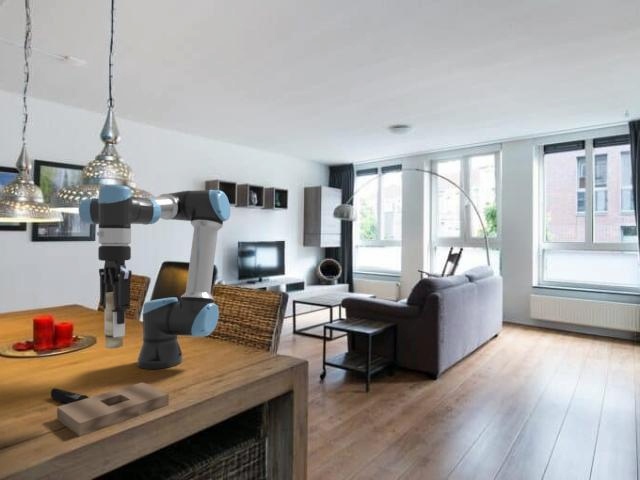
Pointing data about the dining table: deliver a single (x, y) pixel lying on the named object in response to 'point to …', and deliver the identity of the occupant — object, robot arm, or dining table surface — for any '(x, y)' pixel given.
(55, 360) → the dining table surface
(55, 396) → the electric trimmer
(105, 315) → the robot arm
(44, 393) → the dining table surface
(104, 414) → the walnut board
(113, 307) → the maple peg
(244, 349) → the dining table surface
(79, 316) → the dining table surface
